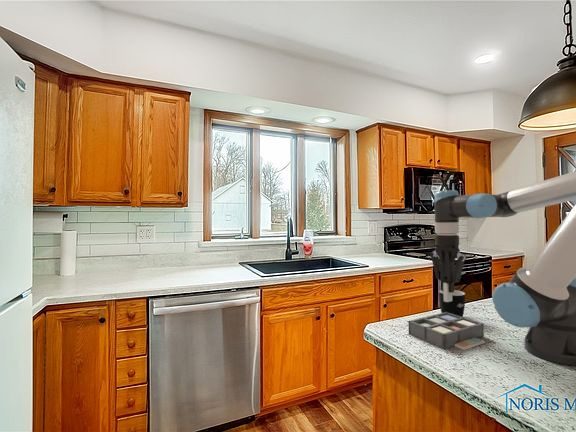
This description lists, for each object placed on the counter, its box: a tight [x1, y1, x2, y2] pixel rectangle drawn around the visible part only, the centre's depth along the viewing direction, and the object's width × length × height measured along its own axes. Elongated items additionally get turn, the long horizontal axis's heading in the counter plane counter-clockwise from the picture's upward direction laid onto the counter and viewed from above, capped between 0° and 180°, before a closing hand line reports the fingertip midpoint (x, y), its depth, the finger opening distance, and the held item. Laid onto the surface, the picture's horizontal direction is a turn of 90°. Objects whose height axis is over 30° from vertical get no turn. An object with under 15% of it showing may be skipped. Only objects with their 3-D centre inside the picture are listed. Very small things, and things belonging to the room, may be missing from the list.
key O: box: [458, 320, 475, 326], centre depth 102 cm, size 4×4×2 cm
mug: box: [438, 289, 466, 317], centre depth 119 cm, size 12×9×10 cm
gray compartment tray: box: [408, 312, 486, 351], centre depth 100 cm, size 17×20×4 cm
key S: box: [431, 326, 452, 333], centre depth 96 cm, size 4×4×2 cm
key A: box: [441, 315, 457, 320], centre depth 107 cm, size 4×4×2 cm
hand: (448, 300), depth 107 cm, fingers closed
